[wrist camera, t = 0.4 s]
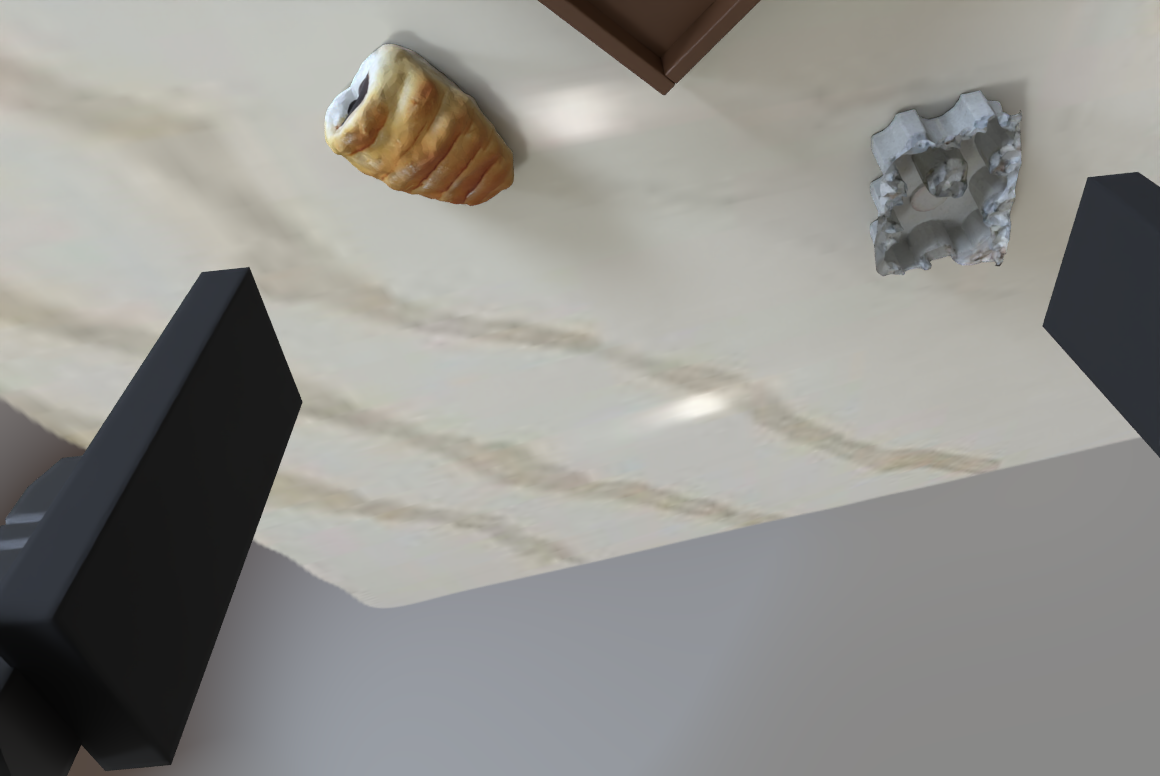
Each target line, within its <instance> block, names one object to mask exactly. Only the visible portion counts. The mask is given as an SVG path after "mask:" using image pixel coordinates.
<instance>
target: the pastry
mask: <svg viewBox="0 0 1160 776" xmlns="http://www.w3.org/2000/svg"><path fill="white" fill-rule="evenodd" d="M325 139H326V142H327V144H328V145H329V147H330V148H331V149H332V151H333V152H334V153H335V154H338V155H342V156H343V157H345V158H346V159H347V160H348V161H349V162H350V163H351V164H352V165H353V166H355V167H356V168H357V169H358V170H359V171H361V172H363V173H364V174H366V175H369V176H372V177H375V178H376V179H379V180H381V181H383V182H384V183H386V184H387V185H388V186H389V187H390V188H392V189H394V190H397V191H404V192H407V193H410V194H419V195H422V196H424V197H428V198H430V199H437V200H439V201H445V202H450V203H453V204H468V205H470V206H474V205H478V204H481V203H483V202H486V201H488V200H489V199H491V198H492V197H494V196H495V195H497V194H498V193H499V192H500V191H502V190H505V189H507V188H509V187H510V186H511V185H512V183H513V179H514V168H513V153H512V151H511V149H510V148H509V147H508V146H507V145H506V144H505V143H504V141H503V139H502V138H501V136H500V135H498V134H497V132H496V130H495V127H494V125H493V124H492V123H491V122H490V121H489V120H488V119H487V118H486V117H485V116H484V114H483V113H482V112H481V110H480V109H479V107H478V105H477V103H476V101H475V99H474V98H473V97H471V96H470V95H468V94H465V93H464V92H463V91H462V90H460V89H459V87H458V86H457V85H456V84H455V83H454V82H452V81H451V80H449V79H448V78H447V77H446V76H445V75H444V74H443V73H442V72H439V71H438V70H436V69H435V68H434V67H433V66H431V65H430V64H429V63H428V62H427V61H426V60H425V59H424V58H422V57H421V56H420V55H419V54H417V53H416V52H414V51H412V50H410V49H406V48H404V47H401V46H398V45H395V44H384V45H382V46H381V47H380V48H379V49H377V50H376V51H375V52H373V53H372V54H371V55H370V56H369V57H368V58H367V59H366V60H365V61H364V62H363V63H362V64H361V67H360V69H359V71H358V73H357V74H356V75H355V77H354V80H353V82H352V84H351V86H350V88H348V89H347V90H345V91H343V92H341V93H340V94H339V95H338V96H337V97H336V98H335V99H334V100H333V102H332V104H331V105H330V106H329V108H328V109H327V113H326V117H325Z"/></svg>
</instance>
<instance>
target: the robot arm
mask: <svg viewBox="0 0 1160 776" xmlns="http://www.w3.org/2000/svg"><path fill="white" fill-rule="evenodd" d="M1043 327H1044V328H1045V329H1046V331H1047V332H1048V333H1049V334H1050V335H1051V336H1052V337H1053V338H1054V340H1055V341H1056V342H1057V343H1058V344H1059V345H1060V346H1061V347H1062V349H1063V350H1064V351H1065V352H1066V353H1067V354H1068V355H1069V356H1070V358H1071V359H1072V360H1073V361H1074V362H1075V363H1076V364H1077V365H1078V366H1079V368H1080V369H1081V370H1082V371H1083V372H1084V373H1085V374H1086V375H1087V377H1088V378H1089V379H1090V380H1091V381H1092V382H1093V383H1094V384H1095V386H1096V387H1097V388H1098V389H1099V390H1100V391H1101V392H1102V393H1103V395H1104V396H1105V397H1106V398H1107V399H1108V400H1109V401H1110V402H1111V403H1112V405H1113V406H1114V407H1115V408H1116V409H1117V410H1118V411H1119V412H1120V414H1121V415H1122V416H1123V417H1124V418H1125V419H1126V420H1127V421H1128V423H1129V424H1130V425H1131V426H1132V427H1133V428H1134V429H1135V430H1136V432H1137V433H1138V434H1139V435H1140V436H1141V437H1142V438H1143V439H1144V440H1145V442H1146V443H1147V444H1148V445H1149V446H1150V447H1151V448H1152V449H1153V451H1154V452H1155V453H1156V454H1157V455H1158V456H1159V457H1160V187H1159V186H1158V185H1156V184H1155V183H1153V182H1152V181H1150V180H1149V179H1147V178H1146V177H1145V176H1143V175H1142V174H1140V173H1139V172H1133V173H1124V174H1115V175H1105V176H1096V177H1088V178H1087V182H1086V185H1085V188H1084V191H1083V195H1082V198H1081V201H1080V204H1079V208H1078V211H1077V214H1076V218H1075V221H1074V224H1073V227H1072V231H1071V234H1070V237H1069V241H1068V244H1067V247H1066V250H1065V254H1064V257H1063V260H1062V264H1061V267H1060V270H1059V273H1058V277H1057V280H1056V283H1055V287H1054V290H1053V293H1052V296H1051V300H1050V303H1049V306H1048V310H1047V313H1046V316H1045V319H1044V323H1043ZM301 405H302V400H301V397H300V394H299V392H298V389H297V387H296V384H295V382H294V379H293V377H292V374H291V372H290V369H289V367H288V364H287V361H286V359H285V356H284V354H283V351H282V349H281V346H280V344H279V341H278V339H277V336H276V334H275V331H274V328H273V326H272V323H271V321H270V318H269V316H268V313H267V311H266V308H265V306H264V303H263V301H262V298H261V295H260V293H259V290H258V288H257V285H256V283H255V280H254V278H253V275H252V273H251V270H250V268H249V267H246V268H237V269H228V270H218V271H209V272H202V273H201V274H200V276H199V277H198V279H197V280H196V282H195V283H194V285H193V286H192V288H191V290H190V291H189V293H188V294H187V296H186V297H185V299H184V300H183V302H182V303H181V305H180V306H179V308H178V310H177V311H176V313H175V314H174V316H173V317H172V319H171V320H170V322H169V323H168V325H167V326H166V328H165V330H164V331H163V333H162V334H161V336H160V337H159V339H158V340H157V342H156V343H155V345H154V346H153V348H152V350H151V351H150V353H149V354H148V356H147V357H146V359H145V360H144V362H143V363H142V365H141V366H140V368H139V370H138V371H137V373H136V374H135V376H134V377H133V379H132V380H131V382H130V383H129V385H128V386H127V388H126V390H125V391H124V393H123V394H122V396H121V397H120V399H119V400H118V402H117V403H116V405H115V406H114V408H113V410H112V411H111V413H110V414H109V416H108V417H107V419H106V420H105V422H104V423H103V425H102V426H101V428H100V430H99V431H98V433H97V434H96V436H95V437H94V439H93V440H92V442H91V443H90V445H89V446H88V448H87V450H86V451H85V453H84V454H83V456H77V457H67V458H62V459H60V460H59V461H58V462H57V463H56V464H54V465H53V466H52V467H51V468H50V469H49V470H47V471H46V472H45V473H44V474H43V475H42V476H40V477H39V478H38V479H37V480H36V481H34V482H33V483H32V484H31V485H30V486H28V487H27V489H26V490H25V492H24V493H23V495H22V496H21V497H20V499H19V500H18V502H17V503H16V505H15V506H14V507H13V509H12V510H11V512H10V513H9V515H8V516H7V517H6V519H5V520H6V525H2V526H0V776H67V775H68V772H69V770H70V768H71V766H72V764H73V761H74V759H75V757H76V755H77V753H78V751H79V748H80V746H81V745H82V746H83V747H84V748H85V749H86V750H87V751H88V752H89V754H90V755H91V756H92V757H93V758H94V759H95V760H96V761H97V762H98V763H99V765H100V766H101V767H102V768H103V769H104V770H105V771H110V770H121V769H130V768H131V769H132V768H143V767H153V766H163V765H171V763H172V761H173V758H174V755H175V752H176V749H177V747H178V744H179V741H180V739H181V736H182V733H183V730H184V727H185V725H186V722H187V719H188V716H189V714H190V711H191V708H192V705H193V703H194V700H195V697H196V694H197V692H198V689H199V686H200V683H201V681H202V678H203V675H204V672H205V669H206V667H207V664H208V661H209V658H210V656H211V653H212V650H213V648H214V645H215V642H216V639H217V636H218V634H219V631H220V628H221V625H222V623H223V620H224V617H225V614H226V612H227V609H228V606H229V603H230V601H231V598H232V595H233V592H234V590H235V587H236V584H237V581H238V579H239V576H240V573H241V570H242V568H243V565H244V562H245V559H246V557H247V553H248V551H249V548H250V545H251V543H252V540H253V537H254V534H255V532H256V529H257V526H258V523H259V521H260V518H261V515H262V512H263V510H264V507H265V504H266V501H267V499H268V496H269V493H270V490H271V488H272V485H273V482H274V479H275V477H276V474H277V471H278V468H279V465H280V463H281V460H282V457H283V454H284V452H285V449H286V446H287V443H288V441H289V438H290V435H291V432H292V430H293V427H294V424H295V421H296V419H297V416H298V413H299V410H300V408H301Z"/></svg>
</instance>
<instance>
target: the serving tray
mask: <svg viewBox="0 0 1160 776" xmlns="http://www.w3.org/2000/svg"><path fill="white" fill-rule="evenodd" d="M538 1H539V2H541V3H542V4H543V5H545V6H546V7H547V8H549V9H550V10H551V11H553V12H554V13H555V14H557V15H558V16H559V17H560V18H562V19H563V20H564V21H566V22H567V23H568V24H570V25H571V26H572V27H574V28H575V29H576V30H578V31H579V32H580V33H582V34H583V35H584V36H586V37H587V38H588V39H590V40H591V41H592V42H594V43H595V44H596V45H598V46H599V47H600V48H601V49H603V50H604V51H605V52H607V53H608V54H609V55H611V56H612V57H613V58H615V59H616V60H617V61H619V62H620V63H621V64H623V65H624V66H625V67H627V68H628V69H629V70H631V71H632V72H633V73H635V74H636V75H637V76H639V77H640V78H641V79H642V80H644V81H645V82H646V83H648V84H649V85H650V86H652V87H653V88H654V89H656V90H657V91H658V92H660V93H661V94H662V95H666V94H667V93H668V92H669V91H670V90H671V89H672V88H673V87H674V85H675V83H678V82H679V81H680V80H681V79H682V78H683V77H684V76H685V75H686V74H687V73H688V72H689V71H690V70H691V69H692V68H693V67H694V66H695V65H696V64H697V63H698V62H699V61H700V60H701V59H702V58H703V57H704V56H705V55H706V54H707V53H708V52H709V51H710V50H711V49H712V48H713V47H714V46H715V45H716V44H717V43H718V42H719V41H720V40H721V39H722V38H723V37H724V36H725V35H726V34H727V33H728V32H729V31H730V30H731V29H732V28H733V27H734V26H735V25H736V24H737V23H738V22H739V21H740V20H741V19H742V18H743V17H744V16H745V15H746V14H747V13H748V12H749V11H750V10H751V9H752V8H753V7H754V6H755V5H756V4H757V3H758V2H759V1H760V0H538Z"/></svg>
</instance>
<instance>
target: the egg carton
mask: <svg viewBox="0 0 1160 776" xmlns="http://www.w3.org/2000/svg"><path fill="white" fill-rule="evenodd" d="M1021 118H1022V115H1021V110H1020V112H1019V114H1016V115H1012V116H1011V115H1008V114H1007V113H1005V112H1003V111H1002V107H1001V104H1000V103H999V101H988V100H987V99H986V98H985V97H984V95H983V94H982V92H981V90H980V91H975V92H972V93H968V94H962V95H960V98H959V100H958V102H957V103H956V105H955V106H954V107H953V108H952V109H950V110H949V111H948V112H946V113H945V114H944V115H942V116H939V117H938V118H932V119H930V120H929V119H925V118H921V117H920V116H918V114H917V112H916V110H915V109H912V110H908V111H906V112H900V113H899V114H896V116H895V118H894V120H893V121H892V122H891V124H890V125H889V126H888V127H887V128H886V129H884V130H883V131H882V132H880V133H877V134H875V135H873V136H872V138H871V148H872V152H873V154H874V156H875V159H876V161H877V163H878V165H879V166H880V169H881V171H882V173H883V176H882V177H880V178H879V179H877V180H875V181H873V182H871V186H870V189H871V190H870V193H871V196H872V199H873V201H874V203H875V205H876V207H877V209H878V212H879V215H878V216H879V217H878V220H877V221H874V222H873V223H871V224H870V234H871V238H872V240H873V243H874V248H875V261H876V270H877V272H878V273H879V274H880V275H882V276H886V275H890V274H899V275H904V274H905V272H904V271H907V270H910V269H914V268H922V269H924V270H928V269H931V266H932V265H931V263H930V261H931V260H935V259H939V258H943V257H946V256H951V257H952V259H953V260H954V261H955V262H957V263H958V264H961V265H973V264H978V263H981V262H992V261H995V262H996V265H995V266H1000V265H1001V263H1002V262H1003V258H1004V254H1006V251H1007V243H1008V241H1009V240H1010V229H1011V221H1010V210H1011V207H1012V204H1013V202H1014V200H1015V186H1016V182H1017V177H1018V171H1019V169H1020V166H1021V141H1020V125H1019V122H1020V121H1021Z"/></svg>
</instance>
